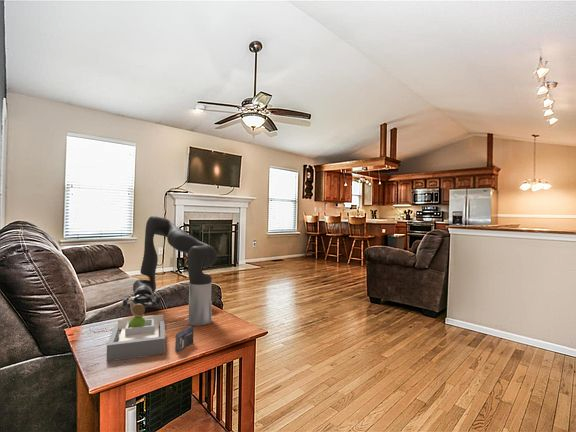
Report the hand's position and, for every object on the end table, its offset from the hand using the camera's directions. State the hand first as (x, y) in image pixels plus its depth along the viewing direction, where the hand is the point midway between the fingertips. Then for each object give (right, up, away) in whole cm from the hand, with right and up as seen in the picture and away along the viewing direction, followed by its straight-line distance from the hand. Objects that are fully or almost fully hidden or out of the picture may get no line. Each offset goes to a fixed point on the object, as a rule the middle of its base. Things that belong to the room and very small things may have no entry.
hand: (141, 304), depth 125 cm
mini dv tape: (+23, -10, -17) cm, 30 cm away
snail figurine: (+1, -8, -7) cm, 10 cm away
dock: (+7, -10, -16) cm, 20 cm away
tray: (+3, -9, -7) cm, 12 cm away
